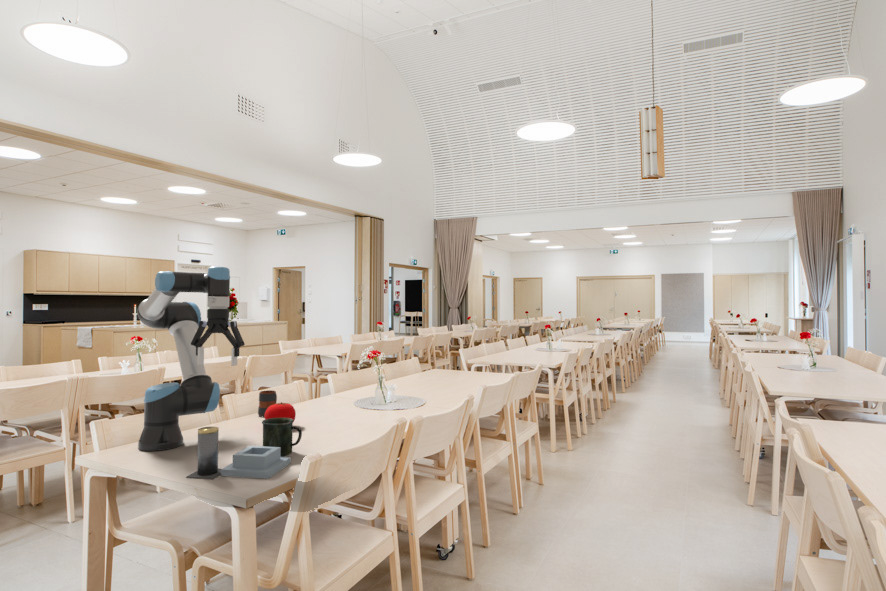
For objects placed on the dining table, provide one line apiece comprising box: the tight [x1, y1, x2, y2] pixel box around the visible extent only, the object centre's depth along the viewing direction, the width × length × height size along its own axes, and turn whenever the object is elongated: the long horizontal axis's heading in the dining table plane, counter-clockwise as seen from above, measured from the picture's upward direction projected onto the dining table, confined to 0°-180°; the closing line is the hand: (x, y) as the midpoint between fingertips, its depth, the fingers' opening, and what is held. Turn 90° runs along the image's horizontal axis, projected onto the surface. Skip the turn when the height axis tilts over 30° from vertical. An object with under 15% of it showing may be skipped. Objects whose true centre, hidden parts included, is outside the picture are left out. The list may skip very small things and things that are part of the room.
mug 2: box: [257, 389, 278, 417], centre depth 252 cm, size 9×12×12 cm
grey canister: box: [196, 426, 219, 476], centre depth 164 cm, size 6×6×14 cm
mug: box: [261, 418, 303, 457], centre depth 187 cm, size 11×15×12 cm
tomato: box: [263, 401, 296, 421], centre depth 227 cm, size 12×13×11 cm
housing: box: [220, 445, 292, 480], centre depth 169 cm, size 16×16×6 cm
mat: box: [185, 467, 222, 480], centre depth 164 cm, size 9×9×1 cm
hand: (217, 365), depth 191 cm, fingers open, 13 cm apart
